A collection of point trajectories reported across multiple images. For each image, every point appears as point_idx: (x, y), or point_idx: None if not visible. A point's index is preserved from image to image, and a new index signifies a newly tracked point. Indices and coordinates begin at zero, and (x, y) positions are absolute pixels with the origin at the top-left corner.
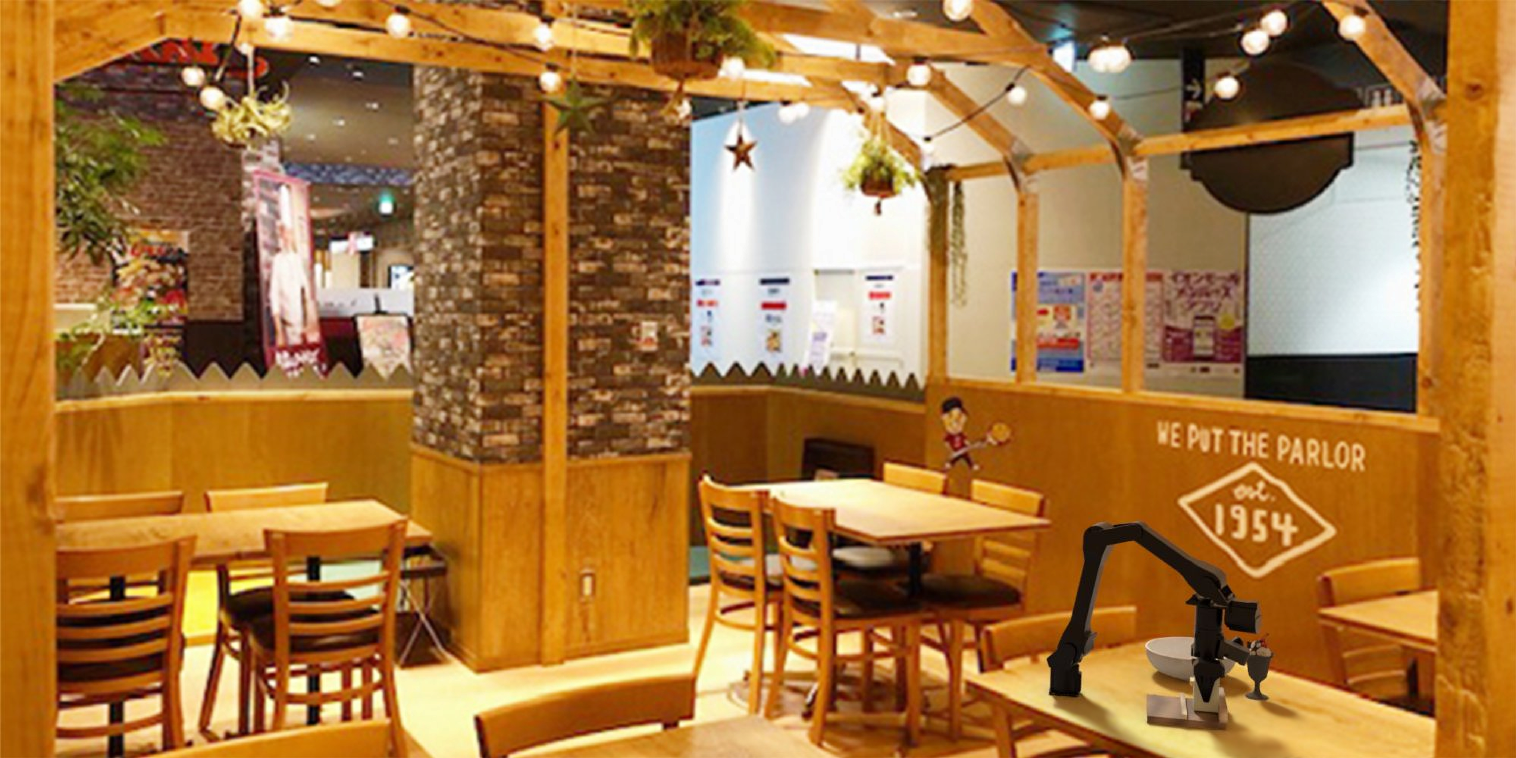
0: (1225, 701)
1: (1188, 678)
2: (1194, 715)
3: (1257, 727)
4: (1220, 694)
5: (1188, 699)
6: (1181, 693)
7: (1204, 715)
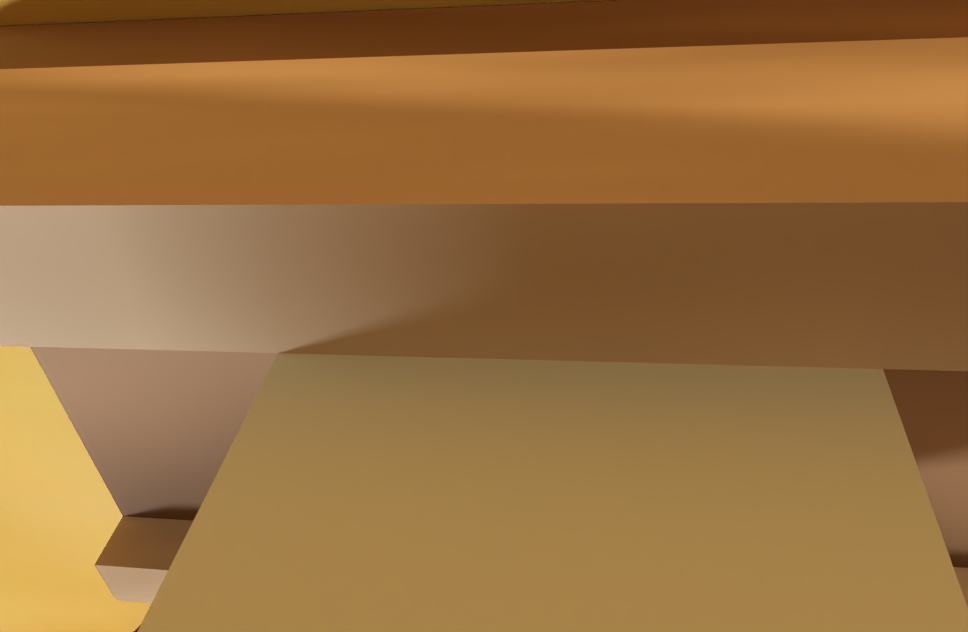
0: (931, 218)
1: None
2: (927, 492)
3: None
4: (265, 294)
5: (172, 489)
6: (136, 590)
7: (908, 381)
